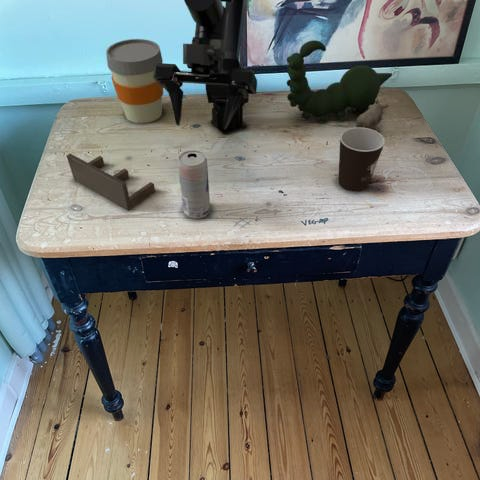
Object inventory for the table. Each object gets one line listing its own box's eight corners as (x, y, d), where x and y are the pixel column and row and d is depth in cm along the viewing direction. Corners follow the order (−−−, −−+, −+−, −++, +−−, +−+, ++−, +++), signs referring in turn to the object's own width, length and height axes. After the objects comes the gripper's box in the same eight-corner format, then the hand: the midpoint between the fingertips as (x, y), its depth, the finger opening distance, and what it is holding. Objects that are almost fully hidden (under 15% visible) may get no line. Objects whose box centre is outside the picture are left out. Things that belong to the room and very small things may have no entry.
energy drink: (210, 201, 100) (206, 149, 90) (210, 219, 96) (206, 165, 87) (183, 202, 100) (177, 150, 90) (183, 220, 96) (176, 167, 87)
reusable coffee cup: (142, 96, 128) (132, 34, 116) (179, 110, 123) (172, 47, 111) (107, 116, 121) (93, 53, 109) (145, 132, 116) (134, 67, 105)
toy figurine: (293, 136, 118) (394, 117, 119) (292, 54, 103) (407, 33, 104) (284, 116, 124) (380, 98, 125) (282, 36, 109) (391, 16, 110)
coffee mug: (348, 199, 100) (357, 156, 92) (325, 177, 105) (331, 134, 97) (394, 183, 103) (406, 140, 95) (369, 162, 108) (378, 119, 100)
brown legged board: (101, 163, 109) (95, 138, 104) (155, 191, 102) (151, 166, 97) (74, 180, 105) (66, 155, 100) (128, 210, 98) (122, 185, 94)
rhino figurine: (389, 120, 119) (395, 96, 114) (364, 146, 112) (370, 121, 107) (374, 115, 121) (379, 91, 116) (348, 140, 114) (353, 116, 109)
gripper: (146, 15, 84) (137, 109, 86) (252, 19, 81) (241, 117, 83) (167, 43, 95) (159, 127, 97) (262, 48, 92) (251, 134, 94)
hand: (200, 126), depth 93 cm, fingers open, 9 cm apart
